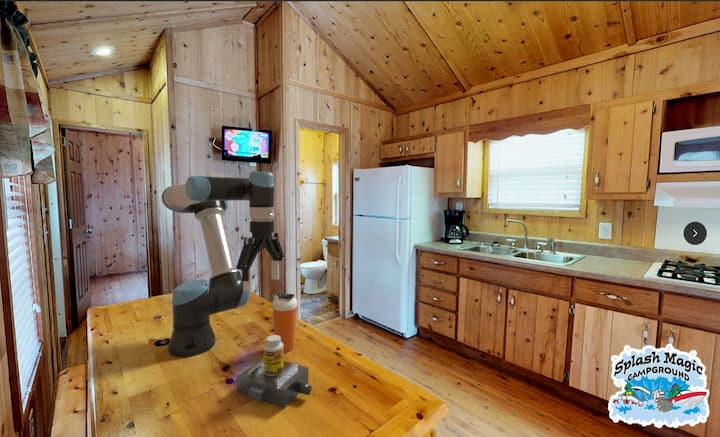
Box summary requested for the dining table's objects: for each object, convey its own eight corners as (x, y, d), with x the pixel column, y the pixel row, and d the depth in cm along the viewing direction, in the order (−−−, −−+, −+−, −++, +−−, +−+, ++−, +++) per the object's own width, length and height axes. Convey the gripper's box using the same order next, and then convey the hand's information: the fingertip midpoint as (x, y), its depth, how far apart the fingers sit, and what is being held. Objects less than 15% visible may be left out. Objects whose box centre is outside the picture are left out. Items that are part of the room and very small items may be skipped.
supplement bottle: (262, 378, 88) (262, 343, 87) (264, 367, 94) (264, 334, 93) (283, 376, 89) (283, 341, 89) (283, 365, 95) (283, 332, 94)
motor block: (231, 397, 88) (231, 375, 87) (264, 370, 100) (264, 351, 100) (292, 418, 80) (292, 393, 80) (320, 386, 93) (320, 365, 92)
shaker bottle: (291, 355, 110) (291, 299, 108) (267, 352, 112) (267, 297, 110) (301, 343, 119) (301, 291, 117) (279, 340, 121) (278, 289, 119)
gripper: (243, 224, 88) (243, 298, 90) (294, 217, 111) (293, 276, 113) (222, 222, 91) (223, 294, 93) (276, 216, 114) (276, 274, 116)
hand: (262, 284), depth 103 cm, fingers open, 13 cm apart
